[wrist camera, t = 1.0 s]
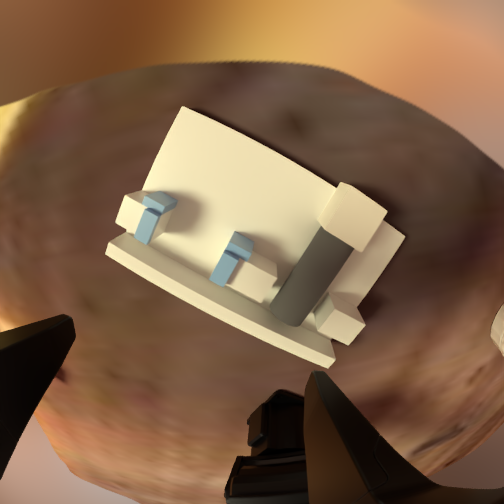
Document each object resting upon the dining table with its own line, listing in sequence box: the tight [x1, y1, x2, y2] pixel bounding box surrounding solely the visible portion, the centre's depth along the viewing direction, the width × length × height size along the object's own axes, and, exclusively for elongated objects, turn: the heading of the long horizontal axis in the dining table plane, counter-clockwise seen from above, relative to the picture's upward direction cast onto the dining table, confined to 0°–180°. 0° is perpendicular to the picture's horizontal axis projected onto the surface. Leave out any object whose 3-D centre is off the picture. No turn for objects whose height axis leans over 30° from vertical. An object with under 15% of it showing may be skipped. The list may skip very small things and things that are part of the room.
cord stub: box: [270, 182, 388, 327], centre depth 18 cm, size 3×10×3 cm, turn 151°
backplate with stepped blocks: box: [105, 106, 405, 368], centre depth 18 cm, size 18×11×4 cm, turn 61°
